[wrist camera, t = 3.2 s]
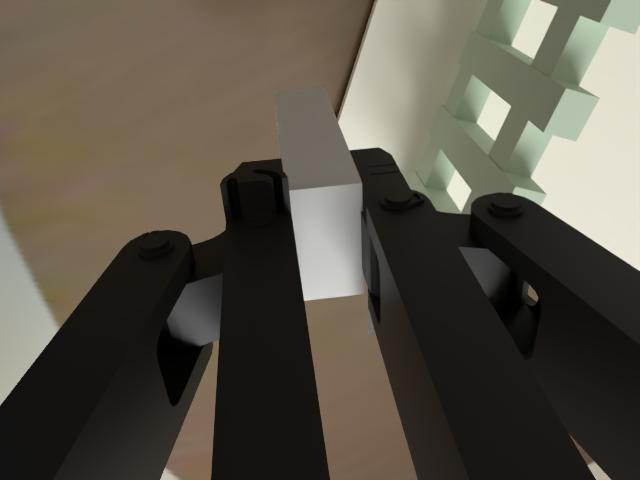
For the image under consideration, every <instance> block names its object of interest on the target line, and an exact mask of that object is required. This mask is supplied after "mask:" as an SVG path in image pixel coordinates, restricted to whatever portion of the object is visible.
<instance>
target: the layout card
mask: <svg viewBox="0 0 640 480" xmlns="http://www.w3.org/2000/svg"><path fill="white" fill-rule="evenodd" d="M487 1H488V0H375V1H374V4H373V8H372V11H371V14H370V17H369V20H368V23H367V26H366V29H365V33H364V36H363V39H362V42H361V45H360V48H359V51H358V55H357V58H356V61H355V64H354V67H353V70H352V73H351V76H350V80H349V83H348V86H347V89H346V92H345V95H344V98H343V101H342V105H341V108H340V111H339V114H338V117H337V121H338V123H339V126H340V128H341V131H342V133H343V136H344V138H345V141H346V143H347V146H348V148H349V150H357V149H367V148H377V147H379V148H381V149H383V150H385V151H386V152H388V153H390V154H391V155H392V156H393V158H394V160H395V162H396V165H398V167H399V169H400V172H401V173H402V174H403V176H404V178H405V180H406V182H407V184H408V185H409V182H410V180H411V178H412V175H413V173H414V170H415V171H418V169H419V166H420V164H421V161H422V159H423V157H424V154H425V152H426V149H427V147H428V144H429V142H430V140H431V135H430V131H431V129H432V126H433V124H434V121H435V119H436V116H437V114H438V112H439V109H440V107H441V105H445V103H446V101H447V98H448V96H449V94H450V91H451V89H452V86H453V84H454V81H455V79H456V77H457V74H458V72H459V69H460V67H461V65H460V64H459V60H460V58H461V55H462V53H463V50H464V48H465V46H466V43H467V41H468V38H469V36H470V33H471V31H472V30H476V28H477V26H478V23H479V21H480V18H481V16H482V13H483V11H484V9H485V6H486V4H487ZM557 9H558V7H556V6H553V5H551V4H548V3H545V2H543V1H540V0H531V3H530V5H529V7H528V9H527V11H526V14H525V16H524V18H523V20H522V23H521V25H520V27H519V29H518V32H517V34H516V36H515V38H514V41H513V43H512V45H511V46H512V47H514V48H516V49H517V50H519V51H521V52H522V53H524V54H526V55H527V56H529V57H531V58H533V59H534V57H535V55H536V53H537V51H538V49H539V47H540V45H541V42H542V40H543V38H544V36H545V34H546V32H547V30H548V28H549V26H550V23H551V21H552V19H553V17H554V15H555V13H556V11H557ZM579 86H580V87H582V88H583V89H585V90H587V91H588V92H590V93H592V94H593V95H595V96H597V97H599V98H600V99H599V100H598V102H597V104H596V106H595V108H594V110H593V111H592V113H591V115H590V117H589V119H588V121H587V122H586V124H585V126H584V128H583V130H582V131H581V133H580V135H579V137H578V139H577V141H572V140H568V139H565V138H561V137H557V136H554V135H553V136H552V138H551V140H550V142H549V143H548V145H547V147H546V149H545V151H544V153H543V155H542V157H541V159H540V161H539V163H538V164H537V166H536V168H535V170H534V172H533V174H532V176H531V179H532V180H533V181H534V182H535V183H536V184H537V185H538V186H539V187H540V188H541V189H542V190H543V191H544V192H545V193H546V194H547V195H546V197H545V199H544V201H543V203H542V204H541V207H543V208H544V209H546V210H547V211H549V212H551V213H552V214H554V215H555V216H557V217H558V218H560V219H561V220H563V221H564V222H566V223H567V224H569V225H570V226H572V227H573V228H575V229H576V230H578V231H579V232H581V233H583V234H584V235H586V236H587V237H589V238H590V239H592V240H593V241H595V242H596V243H598V244H599V245H601V246H602V247H604V248H605V249H607V250H608V251H610V252H611V253H613V254H614V255H616V256H618V257H619V258H621V259H622V260H624V261H625V262H627V263H628V264H630V265H631V266H633V267H634V268H636V269H637V270H639V271H640V26H639V27H638V29H637V31H636V33H635V35H634V34H631V33H628V32H625V31H622V30H619V29H616V28H613V27H609V29H608V31H607V33H606V35H605V37H604V38H603V40H602V42H601V44H600V46H599V48H598V50H597V52H596V54H595V56H594V58H593V59H592V61H591V63H590V65H589V67H588V69H587V71H586V73H585V75H584V77H583V79H582V80H581V82H580V84H579ZM510 108H511V106H510V105H509V104H508V103H507V102H505V101H504V100H503V99H502V98H501V97H499V96H498V95H497V94H496V93H494V92H493V91H492V90H491V92H490V94H489V96H488V99H487V101H486V103H485V105H484V107H483V110H482V112H481V114H480V116H479V119H478V121H477V124H478V125H479V126H480V127H481V128H482V129H483V130H484V131H485V132H486V133H487V134H488V135H489V136H490V137H491V138H492V139H493V140H494V141H495V140H496V138H497V136H498V133H499V131H500V129H501V127H502V125H503V123H504V121H505V119H506V116H507V114H508V112H509V110H510ZM471 191H472V190H471V189H470V188H469V186H468V185H467V184H466V182H465V181H464V180H463V178H462V177H461V176H460V174H459V173H458V171H457V170H455V172H454V174H453V177H452V179H451V181H450V183H449V186H448V188H447V192H448V193H449V195H450V196H451V198H452V199H453V201H454V202H455V204H456V205H457V207H458V209H459V210H460V212H462V210H463V207H464V205H465V203H466V201H467V199H468V197H469V195H470V193H471Z"/></svg>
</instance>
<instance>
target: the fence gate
mask: <svg viewBox="0 0 640 480" xmlns="http://www.w3.org/2000/svg"><path fill="white" fill-rule="evenodd" d="M540 1H543V2H545V3H548V4H551V5H553V6H556V7H558V9H557V11H556V13H555V15H554V17H553V19H552V21H551V23H550V26H549V28H548V30H547V32H546V34H545V36H544V38H543V40H542V42H541V45H540V47H539V49H538V51H537V53H536V55H535V57H534V59H533V58H531V57H529V56H527V55H526V54H524V53H522V52H521V51H519V50H517V49H516V48H514V47H512V46H511V45H512V43H513V41H514V38H515V36H516V34H517V32H518V29H519V27H520V25H521V23H522V20H523V18H524V16H525V14H526V11H527V9H528V7H529V5H530V3H531V0H488V1H487V4H486V6H485V9H484V11H483V13H482V16H481V18H480V21H479V23H478V26H477V28H476V30H472V31H471V33H470V36H469V38H468V41H467V43H466V46H465V48H464V50H463V53H462V55H461V58H460V60H459V64H460V65H461V67H460V69H459V72H458V74H457V77H456V79H455V81H454V84H453V86H452V89H451V91H450V94H449V96H448V98H447V101H446V103H445V105H441V107H440V109H439V112H438V114H437V116H436V119H435V121H434V124H433V126H432V129H431V131H430V135H431V140H430V142H429V144H428V147H427V149H426V152H425V154H424V157H423V159H422V161H421V164H420V166H419V169H418V171H415V170H414V173H413V175H412V178H411V180H410V182H409V187H410V189H411V190H416V191H418V192H420V193H423V194H425V195H426V196H427V197H428V198H429V199H430V201H431V202H432V204H433V206H434V207H435V209H436V211H440V212H446V213H457V214H470V213H471V203H472V202H473V201H474V200H475V199H476V198H478V197H481V196H483V195H486V194H494V193H497V192H503V193H505V192H506V193H513V194H514V195H519V196H523V197H525V198H527V199H530V200H532V201H534V202H535V203H537V204H538V205H540V206H541V204H542V203H543V201H544V199H545V197H546V195H547V194H546V193H545V192H544V191H543V190H542V189H541V188H540V187H539V186H538V185H537V184H536V183H535V182H534V181H533V180H532V179H531V176H532V174H533V172H534V170H535V168H536V166H537V164H538V163H539V161H540V159H541V157H542V155H543V153H544V151H545V149H546V147H547V145H548V143H549V142H550V140H551V138H552V136H553V135H554V136H557V137H561V138H565V139H568V140H572V141H577V139H578V137H579V135H580V133H581V131H582V130H583V128H584V126H585V124H586V122H587V121H588V119H589V117H590V115H591V113H592V111H593V110H594V108H595V106H596V104H597V102H598V100H599V99H600V98H599V97H597V96H595V95H593V94H592V93H590V92H588V91H587V90H585V89H583V88H582V87H580V86H579V84H580V82H581V80H582V79H583V77H584V75H585V73H586V71H587V69H588V67H589V65H590V63H591V61H592V59H593V58H594V56H595V54H596V52H597V50H598V48H599V46H600V44H601V42H602V40H603V38H604V37H605V35H606V33H607V31H608V29H609V27H613V28H616V29H619V30H622V31H625V32H628V33H631V34H634V35H635V33H636V31H637V29H638V27H639V26H640V0H540ZM491 90H492V91H493V92H494V93H496V94H497V95H498V96H499V97H501V98H502V99H503V100H504V101H505V102H507V103H508V104H509V105H510V106H511V108H510V110H509V112H508V114H507V116H506V119H505V121H504V123H503V125H502V127H501V129H500V131H499V133H498V136H497V138H496V140H495V141H494V140H493V139H492V138H491V137H490V136H489V135H488V134H487V133H486V132H485V131H484V130H483V129H482V128H481V127H480V126H479V125H478V124H477V121H478V119H479V116H480V114H481V112H482V110H483V107H484V105H485V103H486V101H487V99H488V96H489V94H490V92H491ZM455 170H457V171H458V173H459V174H460V176H461V177H462V178H463V180H464V181H465V182H466V184H467V185H468V186H469V188H470V189H471V190H472V191H471V193H470V195H469V197H468V199H467V201H466V203H465V205H464V207H463V210H462V212H460V210H459V209H458V207H457V205H456V204H455V202H454V201H453V199H452V198H451V196H450V195H449V193H448V192H447V188H448V186H449V183H450V181H451V179H452V177H453V174H454V172H455Z"/></svg>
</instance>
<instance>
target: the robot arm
mask: <svg viewBox="0 0 640 480" xmlns="http://www.w3.org/2000/svg"><path fill="white" fill-rule="evenodd" d="M273 94H274V104H275V113H276V123H277V133H278V142H279V152H280V159H272V160H262V161H252V162H242V163H241V164H240V166H239V167H238V168H237V169H236V170H235V171H234V172H233V173H230V174H229V175H228V176H226V177H225V178H223V180H222V182H221V183H220V188H221V194H222V200H223V205H224V211H225V217H226V230H225V231H224V232H222V233H221V234H220V235H218V236H216V237H214V238H212V239H209V240H207V241H204V242H201V243H197V244H194V245H192V244H191V241H190V239H189V238H188V236H187V235H185V234H183V233H181V232H178V231H171V230H164V231H152V232H151V233H149V232H148V233H145V234H142V235H141V236H139V237H137V238H135V239H133V240H131V241H130V242H129V243H127V244H126V245H125V246H124V247H123V248H122V249H121V251H120V252H119V253H118V254H117V256H116V257H115V258H114V260H113V261H112V262H111V263H110V265H109V266H108V267H107V269H106V270H105V271H104V273H103V274H102V275H101V276H100V278H99V279H98V280H97V282H96V283H95V284H94V285H93V287H92V288H91V289H90V291H89V292H88V293H87V294H86V296H85V297H84V298H83V300H82V301H81V302H80V303H79V305H78V306H77V307H76V309H75V310H74V311H73V313H72V314H71V315H70V316H69V318H68V319H67V320H66V322H65V323H64V324H63V325H62V327H61V328H60V329H59V331H58V332H57V333H56V334H55V336H54V337H53V338H52V340H51V341H50V342H49V344H48V345H47V346H46V347H45V349H44V350H43V351H42V353H41V354H40V355H39V357H38V358H37V359H36V360H35V362H34V363H33V364H32V365H31V367H30V368H29V369H28V371H27V372H26V373H25V374H24V376H23V377H22V378H21V380H20V381H19V382H18V384H17V385H16V386H15V388H14V389H13V390H12V391H11V393H10V394H9V395H8V396H7V398H6V399H5V400H4V402H3V403H2V404H1V406H0V480H160V478H161V476H162V473H163V471H164V468H165V466H166V464H167V461H168V459H169V456H170V454H171V451H172V449H173V447H174V444H175V442H176V439H177V437H178V434H179V432H180V430H181V427H182V425H183V422H184V420H185V417H186V415H187V413H188V410H189V408H190V405H191V403H192V400H193V398H194V395H195V393H196V391H197V388H198V386H199V383H200V381H201V378H202V376H203V374H204V371H205V369H206V366H207V364H208V361H209V359H210V357H211V354H212V349H213V343H212V342H213V341H216V340H219V354H218V371H217V388H216V405H215V422H214V439H213V457H212V474H211V480H330V477H329V470H328V463H327V456H326V449H325V442H324V436H323V429H322V422H321V415H320V408H319V401H318V394H317V387H316V380H315V373H314V366H313V359H312V352H311V346H310V339H309V332H308V325H307V318H306V311H305V304H304V301H306V300H315V299H324V298H332V297H341V296H350V295H358V294H365V283H364V276H365V280H366V283H367V286H368V320H369V335H371V334H374V329H375V333H376V336H377V339H378V343H379V346H380V350H381V353H382V357H383V360H384V364H385V367H386V371H387V374H388V378H389V381H390V385H391V388H392V391H393V395H394V398H395V402H396V405H397V409H398V412H399V416H400V419H401V423H402V426H403V430H404V433H405V437H406V440H407V443H408V447H409V450H410V454H411V457H412V461H413V464H414V468H415V471H416V475H417V478H418V480H596V479H595V477H594V476H593V474H592V472H591V471H590V469H589V467H588V466H587V464H586V462H585V461H584V459H583V457H582V456H581V454H580V452H579V450H578V449H577V447H576V445H575V444H574V442H573V440H572V439H571V437H570V435H571V436H572V437H573V438H574V440H575V441H576V442H577V443H578V444H579V445H580V446H581V447H582V448H583V449H584V450H585V452H586V453H587V454H588V455H589V456H590V457H591V458H592V459H593V460H594V461H595V462H596V463H597V465H598V466H599V467H600V468H601V469H602V470H603V471H604V472H605V473H606V474H607V475H608V477H609V478H610V479H611V480H640V271H639V270H637V269H636V268H634V267H633V266H631V265H630V264H628V263H627V262H625V261H624V260H622V259H621V258H619V257H618V256H616V255H614V254H613V253H611V252H610V251H608V250H607V249H605V248H604V247H602V246H601V245H599V244H598V243H596V242H595V241H593V240H592V239H590V238H589V237H587V236H586V235H584V234H583V233H581V232H579V231H578V230H576V229H575V228H573V227H572V226H570V225H569V224H567V223H566V222H564V221H563V220H561V219H560V218H558V217H557V216H555V215H554V214H552V213H551V212H549V211H547V210H546V209H544V208H543V207H541V206H540V205H538V204H537V203H535V202H534V201H532V200H530V199H527V198H525V197H523V196H519V195H514V194H513V193H506V192H505V193H503V192H497V193H494V194H486V195H483V196H481V197H478V198H476V199H475V200H474V201H473V202H472V203H471V213H470V214H457V213H446V212H440V211H436V209H435V207H434V206H433V204H432V202H431V201H430V199H429V198H428V197H427V196H426V195H425V194H423V193H420V192H418V191H416V190H411V189H410V187H409V185H408V184H407V182H406V180H405V178H404V176H403V174H402V173H401V172H400V169H399V167H398V165H396V162H395V160H394V158H393V156H392V155H391V154H390V153H388V152H386V151H385V150H383V149H381V148H379V147H377V148H367V149H357V150H349V148H348V146H347V143H346V141H345V138H344V136H343V133H342V131H341V128H340V126H339V123H338V121H337V118H336V116H335V113H334V111H333V108H332V106H331V103H330V101H329V98H328V96H327V93H326V91H325V88H324V86H323V87H312V88H301V89H290V90H279V91H273ZM529 285H530V286H531V287H532V288H533V289H534V290H535V292H536V294H537V295H538V297H539V298H538V301H537V302H536V301H535V300H533V299H532V298H531V297H530V296H529V295H527V293H528V287H529ZM568 433H569V434H570V435H569V434H568Z"/></svg>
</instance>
